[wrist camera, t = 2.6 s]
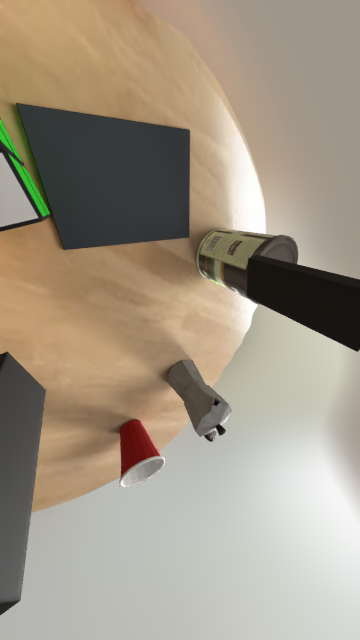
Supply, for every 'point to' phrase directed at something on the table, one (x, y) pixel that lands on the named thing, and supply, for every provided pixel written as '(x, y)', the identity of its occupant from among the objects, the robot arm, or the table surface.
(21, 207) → the puzzle cube
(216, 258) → the coffee can
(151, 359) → the table surface
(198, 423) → the coffeepot
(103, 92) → the table surface
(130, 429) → the plastic cup
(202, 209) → the table surface
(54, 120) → the placemat
